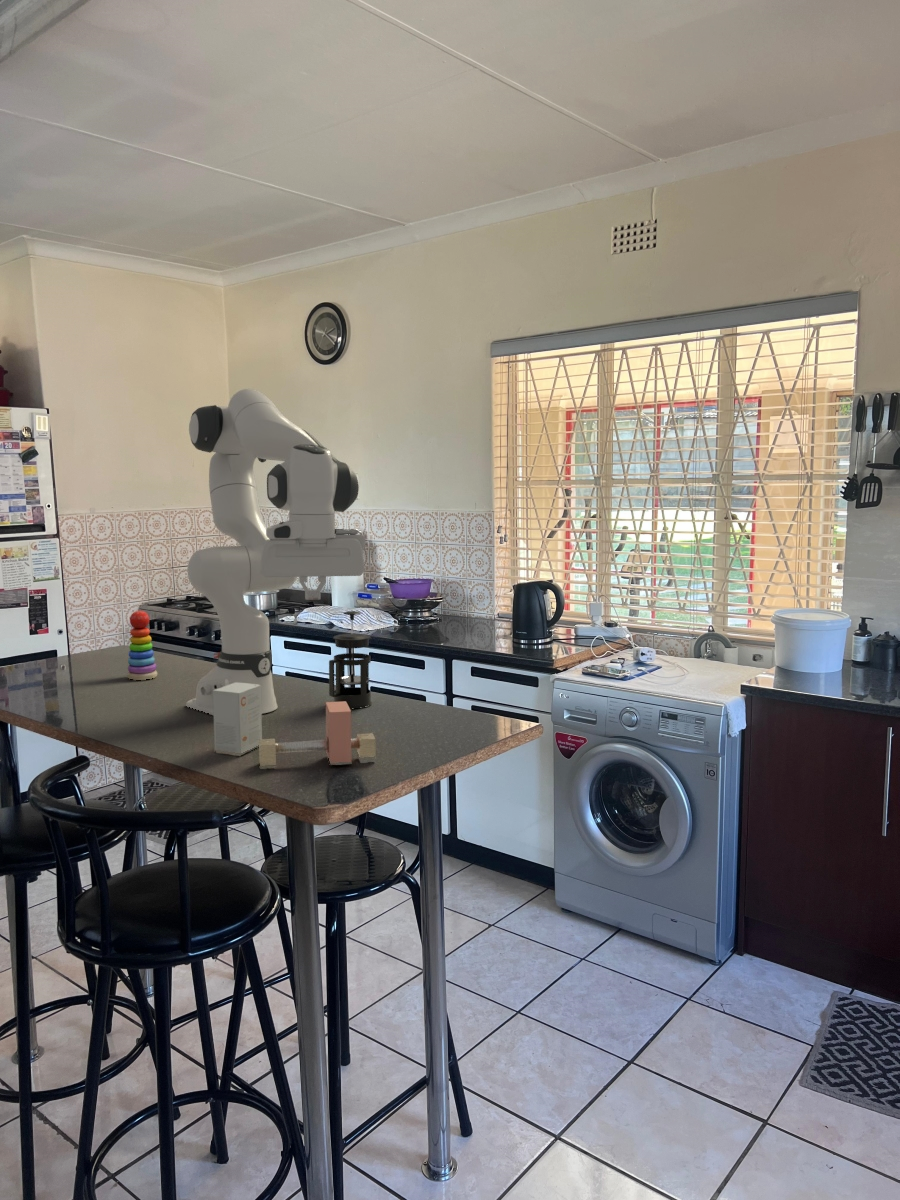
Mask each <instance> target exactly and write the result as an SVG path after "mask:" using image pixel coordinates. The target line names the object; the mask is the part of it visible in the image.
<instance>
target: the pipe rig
mask: <svg viewBox="0 0 900 1200" xmlns="http://www.w3.org/2000/svg"><path fill="white" fill-rule="evenodd" d="M326 750H329V740H326V739H317V740H301V741H283V742H282V741H280V742H276V739H275V738H262V739H259V748H258V761H259V762H258V763H260V766H265V765H276V766H277V757H276V756H277V755H276V754H287V753H288V754H289V753H301V752H303V753H304V752H319V751H322V752H323V751H326ZM351 750H357V751H356V752H358V754H359V757H360V758H364V757H374V756H375V757H376V737H375V735H374V734H373V732H371V733H370V732H369V733H357V735H356V737H354V738H352V737H351ZM260 766H259V767H260Z"/></svg>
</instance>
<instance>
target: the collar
mask: <svg viewBox="0 0 900 1200" xmlns="http://www.w3.org/2000/svg"><path fill="white" fill-rule="evenodd" d="M351 738H352V709H350V708H349V706H348V704H347V702H346V701H342V702H334V701H327V702H325V740H329V750H325V754H326V753H327V755H326V757H327V756H328V758H329V761H330V763H339V762H351V763H352V749H351ZM328 758H327V759H328ZM329 761H328V762H329Z"/></svg>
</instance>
